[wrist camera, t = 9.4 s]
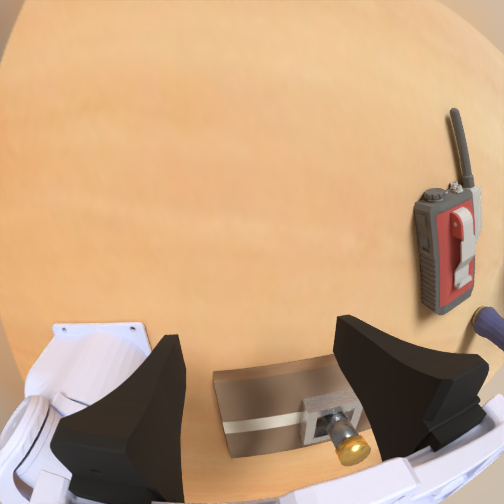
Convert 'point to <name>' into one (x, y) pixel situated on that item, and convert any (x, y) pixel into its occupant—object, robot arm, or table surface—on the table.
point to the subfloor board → (274, 403)
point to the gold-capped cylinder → (345, 439)
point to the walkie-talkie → (449, 235)
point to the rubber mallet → (489, 325)
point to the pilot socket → (327, 413)
